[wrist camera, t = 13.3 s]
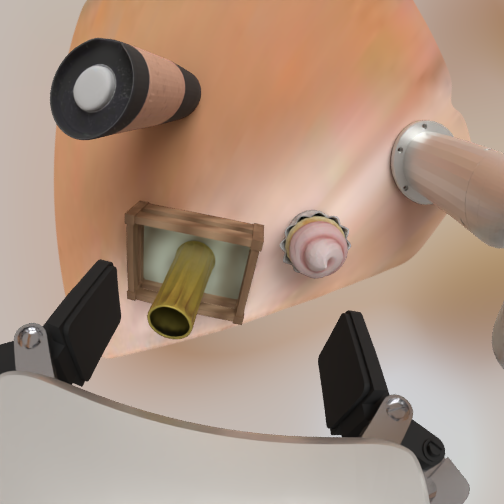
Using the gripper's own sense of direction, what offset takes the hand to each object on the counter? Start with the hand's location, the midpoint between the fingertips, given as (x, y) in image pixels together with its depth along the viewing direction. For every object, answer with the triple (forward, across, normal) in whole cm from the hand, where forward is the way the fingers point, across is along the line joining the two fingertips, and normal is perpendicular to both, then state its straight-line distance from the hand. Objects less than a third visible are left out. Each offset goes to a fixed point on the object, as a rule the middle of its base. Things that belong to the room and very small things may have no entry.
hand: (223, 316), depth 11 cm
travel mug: (+28, +12, -8) cm, 32 cm away
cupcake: (+28, -10, +7) cm, 31 cm away
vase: (+28, +6, +15) cm, 32 cm away
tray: (+28, +6, +15) cm, 32 cm away
